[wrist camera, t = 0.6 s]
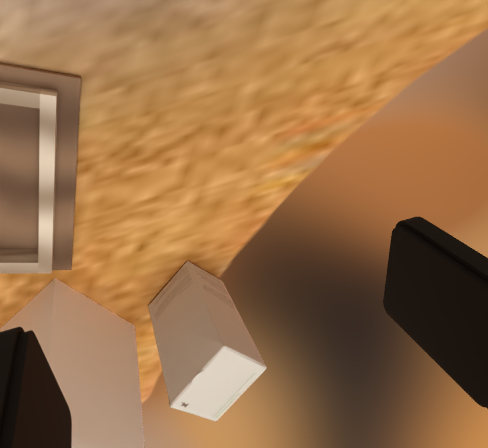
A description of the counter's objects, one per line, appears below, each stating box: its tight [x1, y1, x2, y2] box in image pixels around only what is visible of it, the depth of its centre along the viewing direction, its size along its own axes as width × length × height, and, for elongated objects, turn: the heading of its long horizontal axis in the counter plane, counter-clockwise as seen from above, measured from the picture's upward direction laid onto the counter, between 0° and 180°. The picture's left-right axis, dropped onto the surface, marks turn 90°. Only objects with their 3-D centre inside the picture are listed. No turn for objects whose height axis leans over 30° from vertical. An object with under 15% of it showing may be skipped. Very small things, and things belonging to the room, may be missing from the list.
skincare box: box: [148, 261, 266, 421], centre depth 45 cm, size 8×7×16 cm
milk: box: [0, 278, 145, 448], centre depth 38 cm, size 12×12×26 cm
